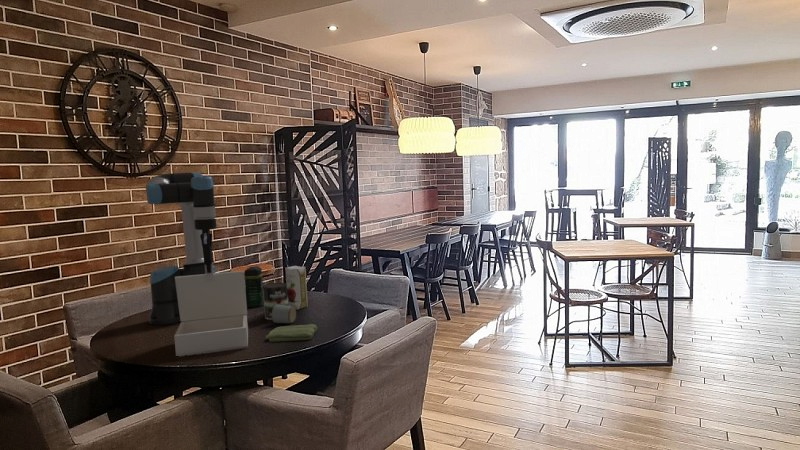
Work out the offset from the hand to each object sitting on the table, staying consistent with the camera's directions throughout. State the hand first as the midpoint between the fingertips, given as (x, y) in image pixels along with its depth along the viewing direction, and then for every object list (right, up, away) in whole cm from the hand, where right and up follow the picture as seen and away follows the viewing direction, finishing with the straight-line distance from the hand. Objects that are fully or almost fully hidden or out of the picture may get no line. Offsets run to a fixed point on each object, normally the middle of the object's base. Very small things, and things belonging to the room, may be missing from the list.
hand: (210, 281), depth 193 cm
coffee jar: (+2, -18, +55) cm, 57 cm away
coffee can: (+17, -19, +33) cm, 42 cm away
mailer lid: (0, -6, +3) cm, 7 cm away
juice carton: (+24, -18, +47) cm, 56 cm away
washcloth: (+30, -22, +5) cm, 37 cm away
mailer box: (+2, -23, -1) cm, 23 cm away
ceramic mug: (+23, -20, +24) cm, 39 cm away
